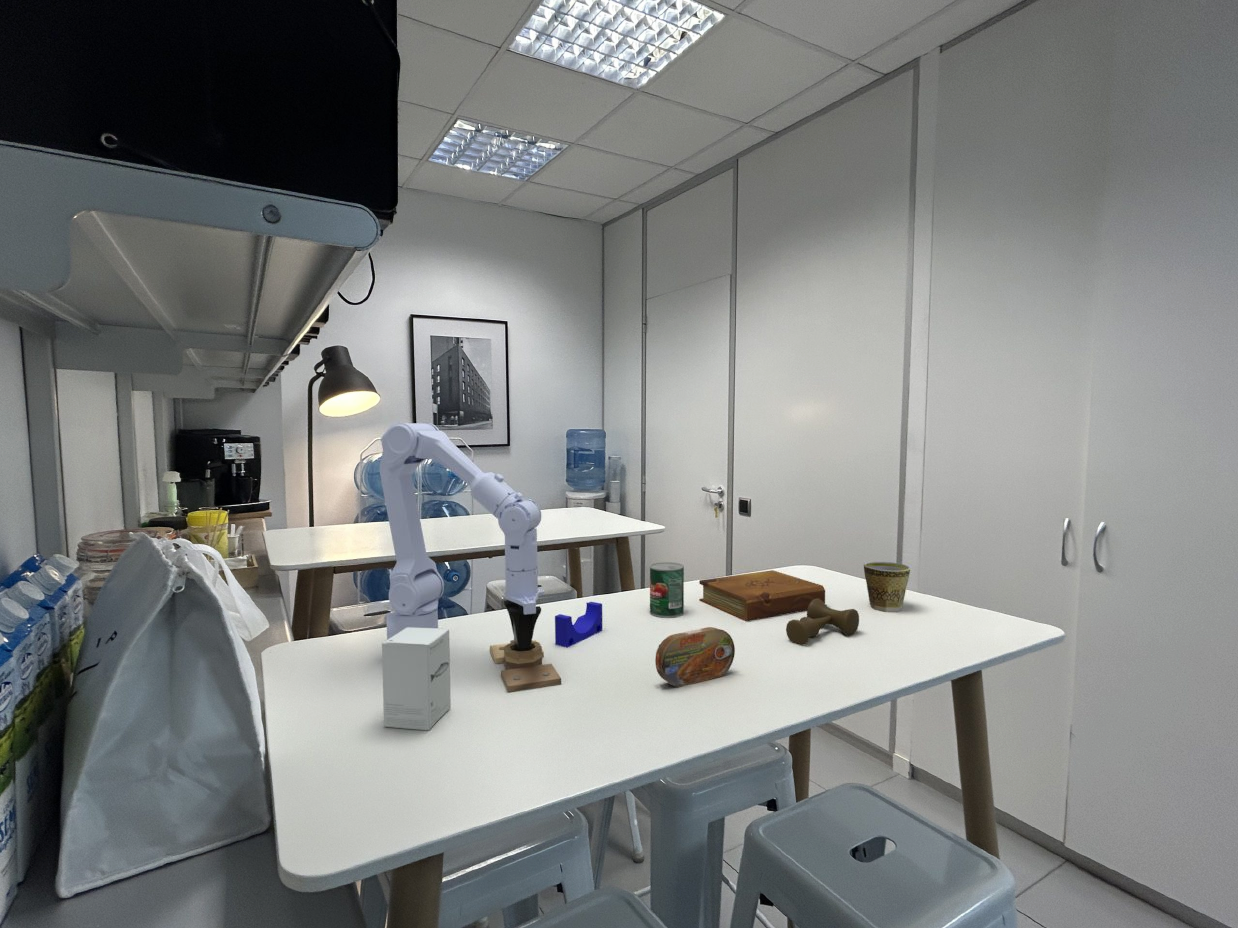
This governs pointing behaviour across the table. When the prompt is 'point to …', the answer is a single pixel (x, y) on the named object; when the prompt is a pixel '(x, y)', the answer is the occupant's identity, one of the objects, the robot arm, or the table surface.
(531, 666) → the hinge plate
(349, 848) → the table surface
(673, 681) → the tin
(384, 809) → the table surface
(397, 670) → the supplement box
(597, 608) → the blue u-shaped block
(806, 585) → the diary
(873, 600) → the ceramic cup
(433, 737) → the table surface
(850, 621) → the kendama
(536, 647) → the hinge leaf
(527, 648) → the grey cylinder
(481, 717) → the table surface
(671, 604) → the canned tomato
